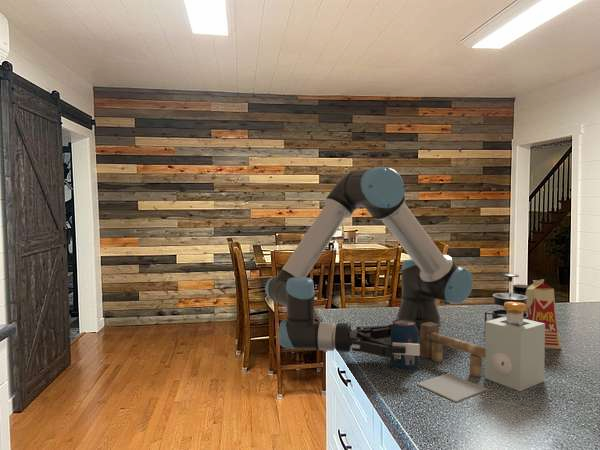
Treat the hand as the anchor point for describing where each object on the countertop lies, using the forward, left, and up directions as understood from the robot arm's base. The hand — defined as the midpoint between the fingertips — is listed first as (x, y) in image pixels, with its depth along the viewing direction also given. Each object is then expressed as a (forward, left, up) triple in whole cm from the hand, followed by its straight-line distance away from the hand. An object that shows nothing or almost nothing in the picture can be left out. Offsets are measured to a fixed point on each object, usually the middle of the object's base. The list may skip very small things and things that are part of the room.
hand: (418, 341), depth 112 cm
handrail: (+4, +9, -7) cm, 12 cm away
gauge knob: (+18, +13, +4) cm, 23 cm away
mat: (+12, -3, -7) cm, 14 cm away
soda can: (-3, -3, -7) cm, 8 cm away
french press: (+7, +27, -7) cm, 29 cm away
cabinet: (+18, +12, -7) cm, 23 cm away
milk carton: (+6, +45, -7) cm, 46 cm away
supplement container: (-17, +75, -7) cm, 78 cm away
